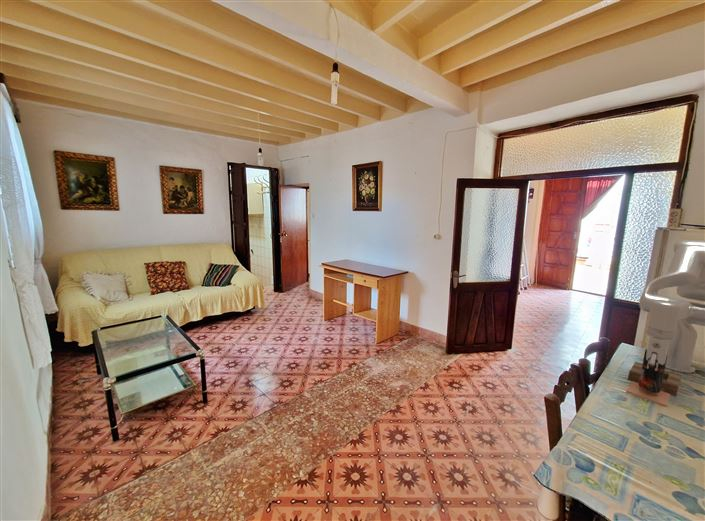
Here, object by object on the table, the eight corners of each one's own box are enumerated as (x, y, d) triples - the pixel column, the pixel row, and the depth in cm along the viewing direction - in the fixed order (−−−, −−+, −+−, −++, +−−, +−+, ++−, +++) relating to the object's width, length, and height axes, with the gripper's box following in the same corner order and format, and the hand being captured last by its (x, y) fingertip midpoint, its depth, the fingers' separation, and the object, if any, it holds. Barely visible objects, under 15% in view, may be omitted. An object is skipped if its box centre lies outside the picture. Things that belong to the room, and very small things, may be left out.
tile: (631, 382, 122) (632, 381, 121) (669, 395, 113) (670, 394, 113) (626, 392, 115) (626, 390, 115) (666, 406, 106) (666, 404, 106)
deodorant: (664, 393, 110) (672, 356, 108) (648, 392, 111) (655, 356, 109) (650, 384, 116) (656, 349, 114) (634, 383, 117) (640, 348, 114)
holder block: (634, 369, 132) (635, 361, 132) (679, 383, 121) (681, 375, 121) (627, 379, 124) (629, 371, 123) (676, 396, 113) (678, 387, 112)
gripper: (672, 341, 102) (662, 388, 105) (677, 330, 112) (668, 372, 115) (642, 334, 108) (634, 378, 110) (649, 324, 118) (642, 365, 121)
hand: (651, 375), depth 113 cm, fingers closed on deodorant, 6 cm apart
